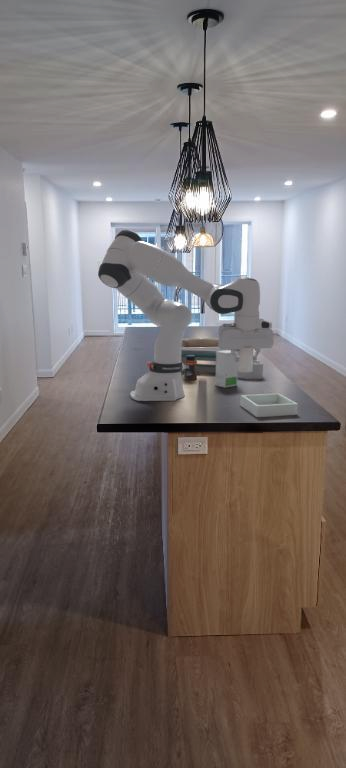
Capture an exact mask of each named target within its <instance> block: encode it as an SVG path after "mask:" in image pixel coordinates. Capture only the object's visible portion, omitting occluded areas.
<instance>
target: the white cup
mask: <svg viewBox="0 0 346 768" xmlns="http://www.w3.org/2000/svg"><path fill="white" fill-rule="evenodd" d="M237 352H238V357H239V362H237V371H238V372H252V371H253V355H254V349H253V347H243V348H242V349H237Z"/></svg>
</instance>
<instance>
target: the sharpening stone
mask: <svg viewBox="0 0 346 768" xmlns="http://www.w3.org/2000/svg"><path fill="white" fill-rule="evenodd" d="M216 351H226V350H222V349H220V348H206V347H205V348H204V347H185V346H184V347H183V346H182V352H181V362H182V365H184V361H185V360H186V359H187V358H186V356H187V355H195V360H196V361H203V362H216ZM197 373H210V374H211V373H212V374H216V363H214V364H212V363H197Z"/></svg>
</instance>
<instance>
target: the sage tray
mask: <svg viewBox="0 0 346 768" xmlns="http://www.w3.org/2000/svg"><path fill="white" fill-rule="evenodd" d="M239 401H240V405H239V406H240V407H241V408H243V409H245V410H246V411H247V412H248V413H250V414H252V416H254V417H256V418H262V417H263V418H265V417H279V416H280V417H282V416H295V415H296V416H297V415H298V408H299V404H298V403H297V402H295V401H294V400H292V399H290V398H288V397H286V396H285V395H283V394H281V393H279V392H278V393H277V392H276V393H258V394H256V393H255V394H244V395H243V394H242V395H240V400H239Z"/></svg>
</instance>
